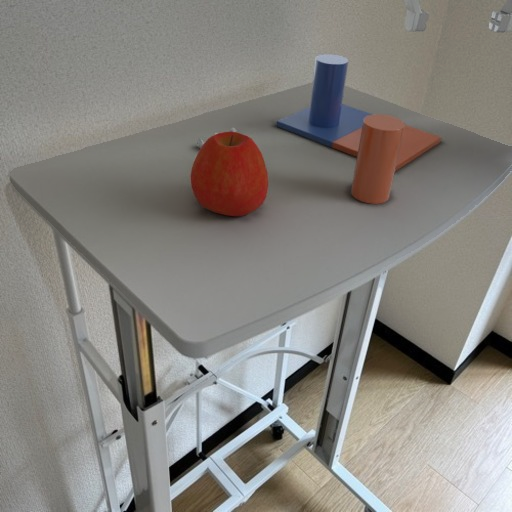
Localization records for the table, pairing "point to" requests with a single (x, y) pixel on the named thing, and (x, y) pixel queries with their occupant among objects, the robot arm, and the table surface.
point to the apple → (229, 175)
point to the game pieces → (200, 142)
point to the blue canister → (327, 90)
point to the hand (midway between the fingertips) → (457, 30)
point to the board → (356, 134)
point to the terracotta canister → (377, 158)
